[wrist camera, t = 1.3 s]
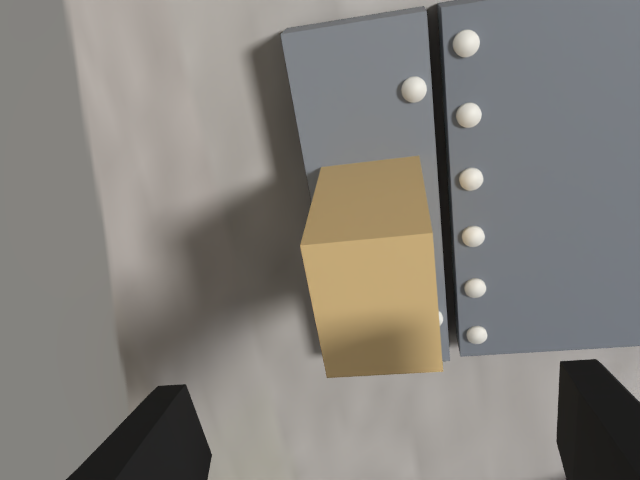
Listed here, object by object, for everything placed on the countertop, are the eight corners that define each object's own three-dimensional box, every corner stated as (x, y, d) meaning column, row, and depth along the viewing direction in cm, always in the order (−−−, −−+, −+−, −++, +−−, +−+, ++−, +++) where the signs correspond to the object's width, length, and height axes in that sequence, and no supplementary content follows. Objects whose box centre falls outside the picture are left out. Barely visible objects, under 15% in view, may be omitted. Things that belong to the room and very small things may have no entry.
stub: (423, 6, 16) (446, 41, 10) (446, 339, 21) (468, 477, 16) (286, 28, 16) (239, 72, 11) (343, 346, 22) (331, 480, 16)
